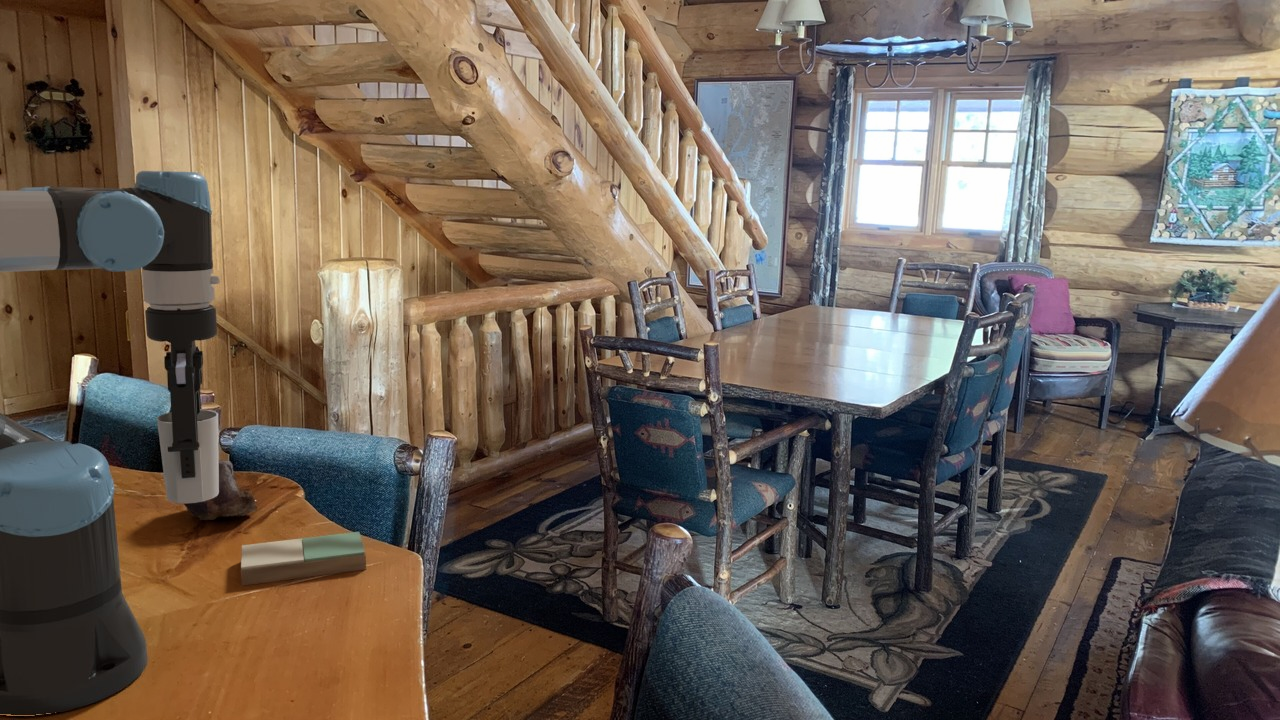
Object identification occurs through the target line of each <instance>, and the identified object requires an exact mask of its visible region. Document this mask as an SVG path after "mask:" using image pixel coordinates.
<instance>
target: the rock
mask: <svg viewBox="0 0 1280 720" xmlns="http://www.w3.org/2000/svg"><path fill="white" fill-rule="evenodd" d="M233 466H234V465H233V463H232V462H231V461H230V460H222V459H220V460H219V493H218V495H217V496H216V497H214V498H213V499H210V500H206V501H203V502H197V503H186V504H183V505H184V506H185V508H186V510H187V512H188V513H189V515H191V516H192V517H194V518H195V519H196V518H197V519H198V518H199V519H198V520H199V521H203V520H204V521H210V520H211V521H213V520H216V519H218V518H219V517H227V518H230V517H229V516H231V517H234V516H236V517H238V516H239V517H238V518H241V517H240V516H242V517H243V516H246V515H248V514H250V513H253V512H255V511H257V510H258V506H257V505H256V504H255V497H254V495H253V494H252V493H250V492H249V491H248V490H246V489H242V490H240V489H239V485H238V484H237V479H236V474H235V473H236V472H235V470H234V469H233Z"/></svg>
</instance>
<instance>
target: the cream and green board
mask: <svg viewBox="0 0 1280 720" xmlns="http://www.w3.org/2000/svg"><path fill="white" fill-rule="evenodd" d="M360 533H361V532H360V531H354V532H352V531H351V532H344V533H343V532H342V533H337V534H328V535H320V536H319V535H318V536H312V537H311V536H309V537H304V538H303V537H301V538H295V539H294V538H293V539H284V540H278V541H277V540H276V541H268V542H260V543H258V542H257V543H251V544H242V545H241V555H240V578H241V579H240V580H241V586H248V585H256V584H257V585H258V584H265V583H273V582H280V581H287V580H295V579H303V578H311V577H312V578H313V577H317V576H325V575H326V576H327V575H333V574H341V573H349V572H356V571H357V572H358V571H362V570H363V571H364V570H365V571H366V570H367V555H366V554H367V553H366V551H365V547H364V543H363V540H362V536H361V534H360Z"/></svg>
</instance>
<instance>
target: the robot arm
mask: <svg viewBox="0 0 1280 720" xmlns="http://www.w3.org/2000/svg"><path fill="white" fill-rule="evenodd" d="M135 176H136V177H135V183H134V187H122V188H107V187H105V188H104V187H73V186H70V187H69V186H52V185H50V186H49V185H48V186H42V187H41V186H40V187H37V186H36V187H22V188H20V189H18V190H0V273H7V272H8V273H9V272H11V273H13V272H28V271H29V272H30V271H33V272H35V271H52V270H53V271H55V270H56V271H57V270H60V271H62V270H63V271H64V270H65V271H66V270H67V271H68V270H74V271H75V270H92V269H95V270H96V269H102V270H106V271H108V272H113V273H114V272H115V273H116V272H118V273H119V272H131V271H135V270H139V269H141V278H142V281H141V282H142V290H143V301H144V302H145V304H147V305H149V306H148V307H147V308H146V309H145V310H144V314H145V327H146V331H145V332H146V336H147V338H148V339H150V340H152V341H155V342H159V343H160V342H161V343H162V342H167V343H169V344H170V351H166V352H165V355H164V356H163V357H164V358H163V359H164V369H165V370H166V375H167V376H166V378H167V390H168V392H169V395H170V412H171V415H172V431H173V443H172V447H168V452H175V466H176V481H177V497H178V503H177V504H178V505H180V504H183V503H193V502H203V485H202V468H201V452H200V448H199V447H200V444H199V442H198V426H197V415H198V413H199V412H200V409H201V410H203V409H202V394H201V393H202V392H201V390H202V389H201V388H202V384H203V370H202V369H203V365H204V353H203V352H204V351H203V350H200V348H199V347H198V346H196V341H204V340H209V339H213V338H214V337H215V336H216V335H217V334H218V326H217V324H218V323H217V308H216V307H215V306H214V305H212V304H210V303H213V301H215V299H216V294H215V286H214V285H219V284H220V282H221V279H220V277H219V276H218V275H212V274H213V273H214V260H213V235H212V234H213V233H212V232H213V231H212V215H213V211H212V206H211V198H210V192H209V185H208V181H207V178H206V176H204V175H202V174H201V173H199V172H196V171H170V170H169V171H168V170H167V171H165V170H163V171H162V170H141V171H139V172H138V173H137V174H136V175H135ZM180 439H181V440H180ZM114 495H115V482H114V479H113V476H112V474H111V470H110V464H109V462H108V460H107V458H106V457H105V456H104V454H102V452H100V451H99V450H98V449H96V448H94V447H92V446H90V445H87V444H84V443H71V442H70V441H65V440H64V441H63V440H56V439H54V438H53V437H51V436H50V435H48V434H46V433H45V432H43V431H40V430H38V429H32V428H31V427H26V426H24V425H22V424H20V423H19V422H18V421H15V420H14V419H12V418H10V417H8V416H7V415H5V414H3V413H2V412H0V714H11V715H36V714H46V713H55V712H60V713H64V712H68V711H73V710H75V708H76V709H79V708H81V707H84V706H89V705H92V704H93V703H96V702H99V701H101V700H104V699H106V698H108V697H110V696H113V695H114V694H116V693H117V692H120V691H121V690H124V689H125V688H126V687H127V686H129V685H130V684H132V683H133V682H134V681H135V680H137V678H139V677H140V676H141V674H142V673H143V672H144V671H145V669H146V667H147V665H148V660H149V659H148V649H147V648H148V647H147V640H146V637H145V635H144V633H143V631H142V629H141V628H142V627H140V625H139V623H138V621H137V618H136V617H135V615H134V613H133V611H132V609H131V608H130V605H129V603H128V602H127V600H126V597H124V593H123V589H122V588H123V587H122V579H121V566H120V555H119V546H118V545H119V544H118V534H117V524H116V523H117V522H116V511H115V500H114ZM55 714H56V713H55Z"/></svg>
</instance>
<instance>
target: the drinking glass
mask: <svg viewBox="0 0 1280 720" xmlns="http://www.w3.org/2000/svg"><path fill="white" fill-rule="evenodd" d="M156 423H157V429H158V437H159V445H160V447H159V448H160V453H161V463H162V470H163V479H164V487H165V496H166V500H167V502H171V503H174V504H178V497H177V481H176V466H175V452H168V447H172V443H173V431H172V415H171V411H170V412H169V411H168V412H166V413H163V414H161V415H158V417H157V418H156ZM197 426H198V442H199V444H200V447H199V448H200V452H201V468H202V485H203V501H206V500H210V499H213V498H214V497H216V496H217V495H218V493H219V461H220V460H219V413H218V412H217V411H214V410H209V409H202V410H201V409H200V412H199V413H198V415H197ZM180 440H181V439H180ZM193 503H197V502H193ZM182 504H183V505H184V504H186V503H182Z"/></svg>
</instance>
